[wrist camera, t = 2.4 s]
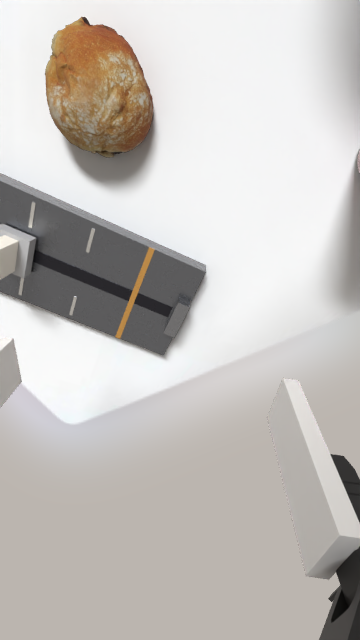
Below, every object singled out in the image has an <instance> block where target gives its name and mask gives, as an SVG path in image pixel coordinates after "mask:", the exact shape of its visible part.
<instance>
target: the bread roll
mask: <svg viewBox="0 0 360 640" xmlns="http://www.w3.org/2000/svg"><path fill="white" fill-rule="evenodd" d="M65 27H66V28H64V29H63V30H61V31H58V32H57V33H56V34H55V35H54V38H53V39H52V46H51V48H52V51H53V52H52V54H53V55H51V56H50V61H49V62H48V64H47V66H46V71H45V76H46V95H47V102H48V106H49V110H50V114H51V117H52V119H53V121H54V123H55V125H56V126H57V128H58V129H59V130H60V131H61V133H62V134H63V135H64V136H65V137H66V139H67V140H68V141H69V142H70V143H72V144H74V145H76V146H78V147H79V148H80V149H83V150H86V151H91V152H92V153H94V154H95V153H96V152H97V153H99V154H100V155H102V156H104V157H108V158H110V157H114V153H115V154H117V153H118V154H119V153H122V152H128V151H130V150H133V149H134V148H135V147H136V146H138V145H139V144H140V143H142V141H143V140H144V139H145V137H146V135H147V133H148V131H149V129H150V126H151V122H152V116H153V102H152V96H151V94H150V89H149V87H148V85H147V83H146V80H145V78H144V74H143V70H142V68H141V66H140V64H139V62H138V60H137V57H136V55H135V54H134V52H133V49H132V48H131V46H130V45H129V44H128V42H127V41H126V40H125V39H124V38H123V36H120V35H118V34H117V32H116V31H115V30H114V29H112V28H110V27H107V26H104V25H94V26H93V25H90V24H89V22H88V20H87V18H85V17H81V18H80V19H79V20H77V21H75V22H74V23H72V24H70V25H66V26H65Z"/></svg>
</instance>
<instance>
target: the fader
mask: <svg viewBox="0 0 360 640" xmlns="http://www.w3.org/2000/svg"><path fill="white" fill-rule="evenodd" d="M35 244H36V238H35V237H33V236H31V235H28V234H26V233H24V232H21V231H19V230H17V229H14V228H12V227H9V226H7V225H5V224H0V280H1V279H3V278H4V277H6V276H8V275H9V274H14V275H16V276H19V277H21V278H26V277H27V276H29V275H30V274H31V268H32V262H33V256H34V250H35Z"/></svg>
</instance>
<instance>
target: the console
mask: <svg viewBox="0 0 360 640" xmlns="http://www.w3.org/2000/svg"><path fill="white" fill-rule="evenodd" d="M0 224H5V225H7V226H9V227H12V228H14V229H17V230H19V231H21V232H24V233H26V234H28V235H31V236H33V237H35V238H36V244H35V250H34V256H33V262H32V268H31V274H30V275H29V276H27V277H26V278H21V277H19V276H16V275H14V274H9V275H8V276H6V277H4V278H3V279H1V280H0V291H1V292H3V293H6V294H8V295H11V296H13V297H16V298H18V299H21V300H24V301H26V302H29V303H31V304H34V305H36V306H39V307H41V308H44V309H46V310H49V311H52V312H54V313H57V314H59V315H62V316H64V317H67V318H69V319H72V320H74V321H77V322H80V323H82V324H85V325H87V326H90V327H92V328H95V329H97V330H100V331H102V332H105V333H108V334H110V335H113V336H115V337H116V338H119V339H123V340H125V341H128V342H130V343H133V344H136V345H138V346H141V347H143V348H146V349H148V350H151V351H153V352H156V353H158V354H161V355H164V353H165V351H166V350H167V348H168V346H169V344H170V342H171V340H172V338H175V336H176V334H177V332H178V330H179V328H180V326H181V324H182V322H183V320H184V318H185V316H186V314H187V312H188V310H189V308H190V302H191V300H192V298H193V296H194V294H195V292H196V290H197V289H198V287H199V285H200V283H201V281H202V279H203V277H204V275H205V273H206V265H204V264H202V263H200V262H197V261H195V260H193V259H191V258H189V257H186V256H184V255H182V254H180V253H177V252H175V251H173V250H171V249H168V248H166V247H164V246H162V245H159V244H157V243H155V242H153V241H151V240H148V239H146V238H144V237H142V236H139V235H137V234H135V233H133V232H130V231H128V230H126V229H124V228H122V227H119V226H117V225H115V224H113V223H110V222H108V221H106V220H104V219H101V218H99V217H97V216H95V215H92V214H90V213H88V212H86V211H84V210H81V209H79V208H77V207H75V206H72V205H70V204H68V203H66V202H63V201H61V200H59V199H57V198H55V197H52V196H50V195H48V194H46V193H43V192H41V191H39V190H37V189H34V188H32V187H30V186H28V185H25V184H23V183H21V182H19V181H17V180H14V179H12V178H10V177H8V176H5V175H3V174H1V173H0Z"/></svg>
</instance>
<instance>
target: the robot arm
mask: <svg viewBox="0 0 360 640" xmlns="http://www.w3.org/2000/svg"><path fill="white" fill-rule="evenodd" d="M21 382H22V380H21V375H20V370H19V365H18V360H17V355H16V349H15V344H14V339H13V338H6V337H0V408H1V407H2V405H3V404H4V403H5V402H6V400H7V399H8V398H9V397H10V395H11V394H12V393H13V392H14V391H15V389H16V388H17V387H18V386H19V384H20V383H21ZM267 419H268V424H269V427H270V432H271V436H272V440H273V444H274V448H275V452H276V456H277V460H278V464H279V468H280V473H281V477H282V481H283V484H284V489H285V493H286V497H287V501H288V505H289V509H290V513H291V517H292V521H293V526H294V529H295V534H296V538H297V542H298V546H299V550H300V554H301V558H302V562H303V566H304V571H305V575H306V576H309V577H315V578H323V579H330V578H331V577H332V576H333V575H334V573H335V572H336V573H337V576H338V579H339V582H340V586H339V587H338V588H337V589H336V590H335V591H334V592H333V593H332V594H331V596H330V597H329V600H330V601H331V602H332V601H333V600H334V601H333V604H332V606H331V609H330V612H329V614H328V617H327V620H326V623H325V625H324V628H323V631H322V634H321V636H320V639H319V640H360V479H359V477H358V475H357V473H356V471H355V469H354V468H353V467H352V466H351V464H350V463H349V462H348V461H347V460H346V459H345V457H344V456H340V455H332V454H330V453H329V450H328V448H327V446H326V443H325V441H324V439H323V436H322V434H321V432H320V429H319V427H318V425H317V422H316V420H315V418H314V415H313V413H312V411H311V408H310V406H309V404H308V401H307V399H306V397H305V394H304V392H303V390H302V387H301V385H300V382H299V380H293V379H286V378H283V379H282V381H281V384H280V386H279V389H278V391H277V394H276V397H275V399H274V401H273V404H272V407H271V409H270V411H269V414H268V416H267Z"/></svg>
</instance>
